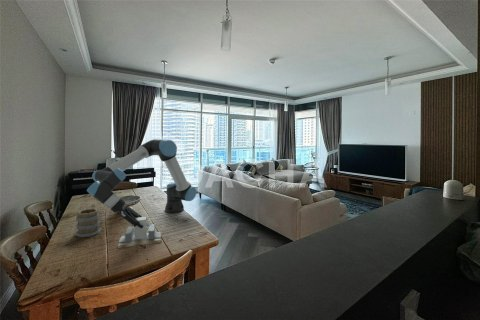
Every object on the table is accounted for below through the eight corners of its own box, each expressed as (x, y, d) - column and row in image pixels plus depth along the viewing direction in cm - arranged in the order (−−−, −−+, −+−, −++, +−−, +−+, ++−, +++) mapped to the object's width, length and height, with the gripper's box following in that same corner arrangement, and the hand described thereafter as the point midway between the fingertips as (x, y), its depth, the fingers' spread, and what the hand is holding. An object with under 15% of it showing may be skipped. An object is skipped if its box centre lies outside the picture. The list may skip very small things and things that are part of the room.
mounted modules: (154, 231, 136) (154, 224, 136) (154, 238, 127) (154, 230, 126) (128, 235, 131) (127, 226, 131) (125, 242, 122) (125, 233, 121)
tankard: (97, 235, 134) (96, 212, 133) (72, 238, 131) (71, 213, 129) (106, 223, 153) (105, 202, 152) (85, 225, 150) (84, 204, 148)
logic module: (146, 234, 132) (146, 216, 131) (146, 238, 128) (145, 219, 127) (135, 235, 130) (135, 217, 129) (134, 239, 126) (134, 220, 125)
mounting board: (161, 233, 139) (160, 230, 138) (160, 242, 127) (160, 238, 127) (121, 238, 131) (121, 235, 131) (118, 247, 120) (117, 244, 120)
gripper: (113, 203, 131) (143, 226, 138) (105, 214, 113) (141, 240, 120) (123, 194, 132) (152, 217, 139) (116, 203, 115) (151, 229, 122)
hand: (147, 228), depth 130 cm, fingers open, 6 cm apart
